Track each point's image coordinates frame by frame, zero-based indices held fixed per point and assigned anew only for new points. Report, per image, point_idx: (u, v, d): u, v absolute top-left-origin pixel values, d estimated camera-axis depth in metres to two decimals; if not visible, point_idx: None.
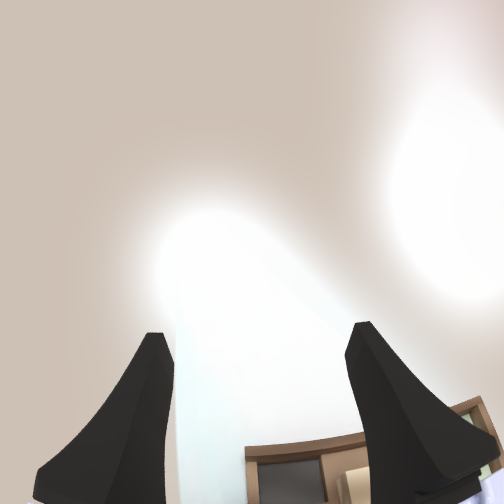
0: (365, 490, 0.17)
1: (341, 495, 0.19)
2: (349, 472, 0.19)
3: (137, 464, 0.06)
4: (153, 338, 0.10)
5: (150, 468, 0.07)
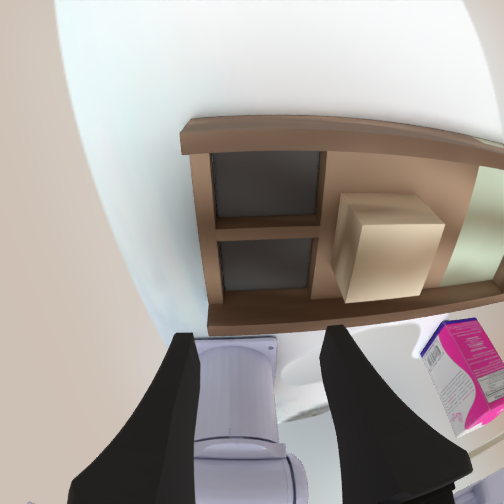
0: (378, 262, 0.15)
1: (341, 229, 0.17)
2: (367, 228, 0.14)
3: (175, 468, 0.06)
4: (183, 338, 0.10)
5: (184, 471, 0.07)
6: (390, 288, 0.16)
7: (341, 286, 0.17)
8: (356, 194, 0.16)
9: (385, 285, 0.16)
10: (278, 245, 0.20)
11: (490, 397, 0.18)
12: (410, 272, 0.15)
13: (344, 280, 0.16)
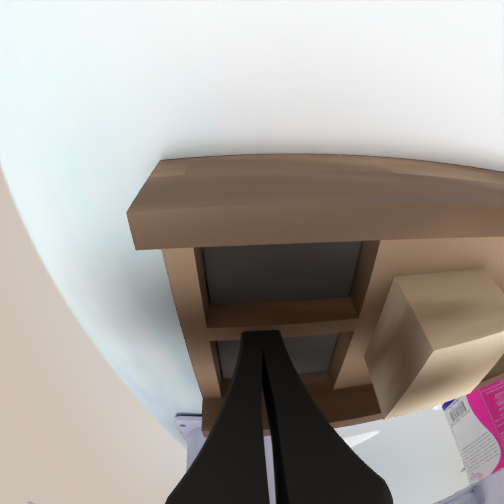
0: (437, 380, 0.09)
1: (390, 327, 0.11)
2: (438, 352, 0.08)
3: None
4: (252, 337, 0.10)
5: None
6: (441, 397, 0.10)
7: (379, 396, 0.11)
8: (414, 276, 0.10)
9: (436, 396, 0.10)
10: None
11: None
12: (469, 378, 0.09)
13: (385, 393, 0.11)
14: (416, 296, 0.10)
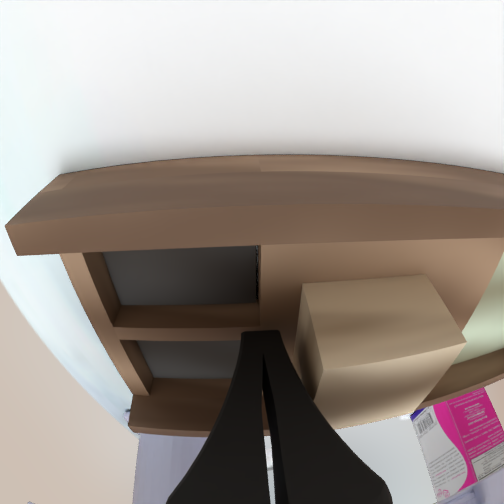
0: (351, 399, 0.09)
1: (302, 338, 0.11)
2: (333, 371, 0.08)
3: None
4: (253, 337, 0.10)
5: None
6: (370, 416, 0.10)
7: None
8: (328, 283, 0.10)
9: (362, 415, 0.10)
10: None
11: None
12: (402, 398, 0.09)
13: None
14: (322, 306, 0.09)
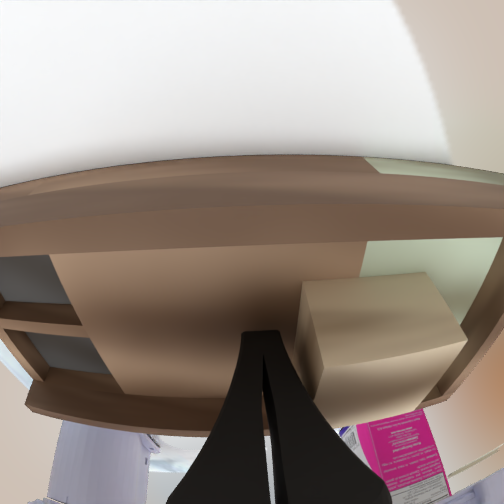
0: (352, 397, 0.09)
1: (302, 336, 0.11)
2: (333, 369, 0.08)
3: None
4: (253, 337, 0.10)
5: None
6: (371, 414, 0.10)
7: None
8: (328, 281, 0.10)
9: (362, 414, 0.10)
10: None
11: None
12: (403, 396, 0.09)
13: None
14: (322, 304, 0.09)
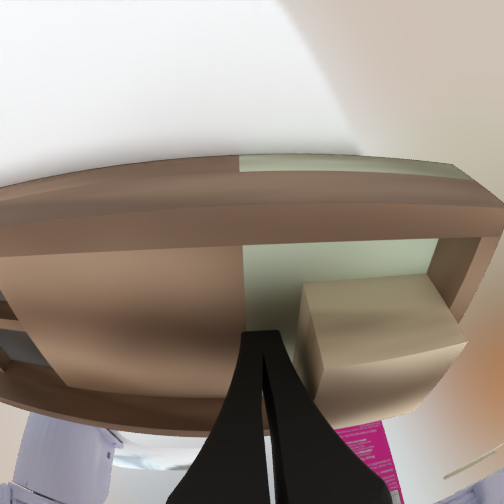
0: (352, 398, 0.09)
1: (302, 337, 0.11)
2: (333, 370, 0.08)
3: None
4: (253, 337, 0.10)
5: None
6: (371, 415, 0.10)
7: None
8: (329, 282, 0.10)
9: (362, 415, 0.10)
10: None
11: None
12: (403, 398, 0.09)
13: None
14: (322, 305, 0.09)
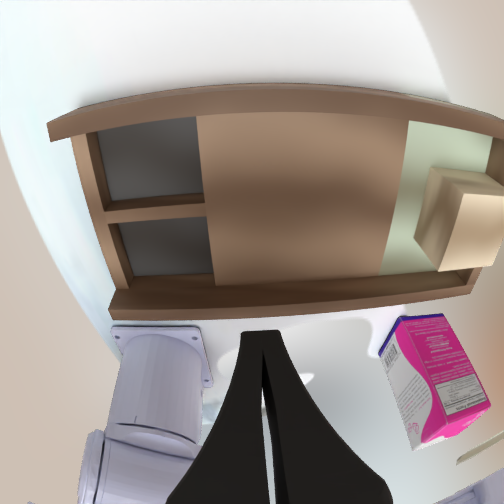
0: (469, 230, 0.14)
1: (432, 201, 0.15)
2: (466, 196, 0.12)
3: None
4: (252, 337, 0.10)
5: None
6: (473, 257, 0.15)
7: (431, 256, 0.16)
8: (441, 168, 0.15)
9: (470, 254, 0.15)
10: (174, 227, 0.18)
11: (450, 407, 0.17)
12: (489, 242, 0.14)
13: (436, 249, 0.15)
14: (446, 174, 0.14)
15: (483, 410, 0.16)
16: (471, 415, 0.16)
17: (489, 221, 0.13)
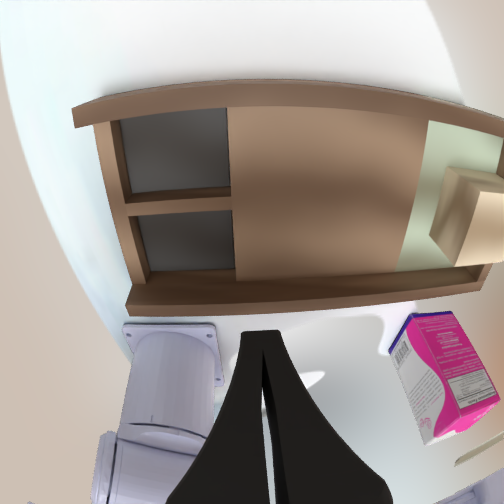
0: (484, 227, 0.14)
1: (448, 199, 0.16)
2: (483, 194, 0.13)
3: None
4: (253, 337, 0.10)
5: None
6: (486, 253, 0.15)
7: (447, 252, 0.16)
8: (457, 168, 0.15)
9: (483, 250, 0.15)
10: (196, 221, 0.18)
11: (462, 401, 0.17)
12: (501, 238, 0.14)
13: (452, 245, 0.15)
14: (462, 174, 0.14)
15: (493, 404, 0.16)
16: (482, 409, 0.16)
17: (502, 218, 0.13)
